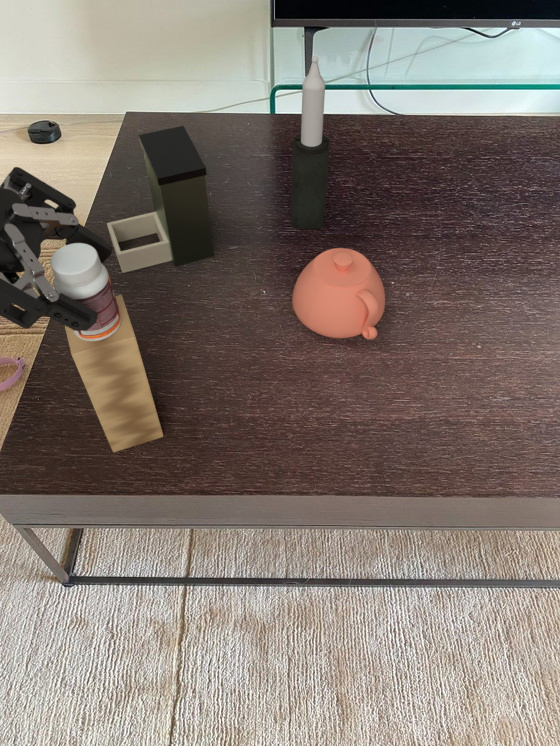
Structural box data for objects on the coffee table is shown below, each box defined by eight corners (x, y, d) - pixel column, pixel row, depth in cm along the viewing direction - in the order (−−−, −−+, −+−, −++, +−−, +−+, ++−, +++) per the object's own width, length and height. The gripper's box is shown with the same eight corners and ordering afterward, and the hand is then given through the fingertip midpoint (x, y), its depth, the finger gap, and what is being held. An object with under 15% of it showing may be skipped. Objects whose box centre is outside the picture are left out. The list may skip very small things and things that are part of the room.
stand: (113, 452, 71) (71, 354, 57) (102, 412, 75) (60, 310, 60) (163, 436, 73) (135, 336, 58) (151, 397, 76) (121, 294, 62)
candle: (293, 206, 99) (296, 45, 79) (325, 209, 98) (336, 47, 78) (290, 227, 95) (292, 65, 76) (323, 230, 95) (334, 67, 75)
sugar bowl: (347, 271, 90) (354, 213, 82) (408, 333, 82) (422, 277, 74) (275, 303, 86) (274, 246, 78) (332, 371, 79) (338, 317, 70)
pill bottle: (132, 318, 60) (113, 252, 53) (98, 350, 57) (74, 285, 51) (95, 298, 61) (73, 232, 55) (61, 329, 59) (33, 263, 52)
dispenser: (173, 267, 90) (157, 178, 78) (155, 224, 96) (138, 134, 84) (215, 256, 92) (206, 167, 79) (195, 214, 97) (183, 125, 85)
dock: (122, 273, 89) (117, 255, 87) (111, 241, 94) (106, 222, 91) (172, 260, 91) (168, 242, 88) (159, 229, 95) (155, 211, 92)
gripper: (-104, 211, 40) (112, 327, 49) (-40, 96, 49) (134, 213, 58) (-142, 273, 44) (64, 369, 53) (-77, 156, 53) (90, 257, 62)
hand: (100, 288), depth 56 cm, fingers open, 8 cm apart
